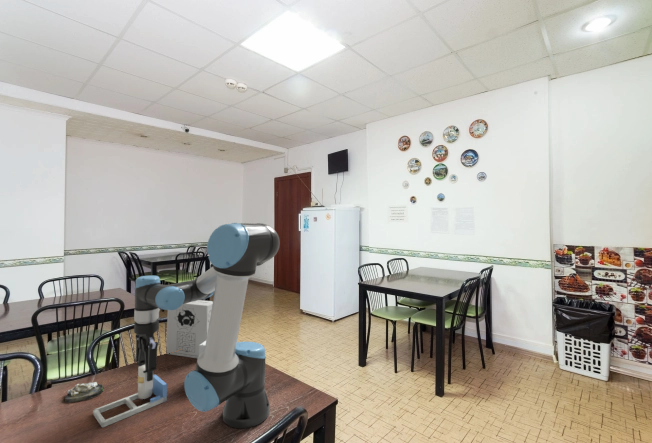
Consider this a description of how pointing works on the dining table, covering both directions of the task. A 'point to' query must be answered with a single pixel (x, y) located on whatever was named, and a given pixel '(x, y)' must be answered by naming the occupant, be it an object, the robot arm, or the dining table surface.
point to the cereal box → (188, 328)
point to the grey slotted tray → (158, 390)
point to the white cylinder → (142, 385)
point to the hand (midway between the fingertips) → (145, 386)
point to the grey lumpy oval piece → (84, 392)
